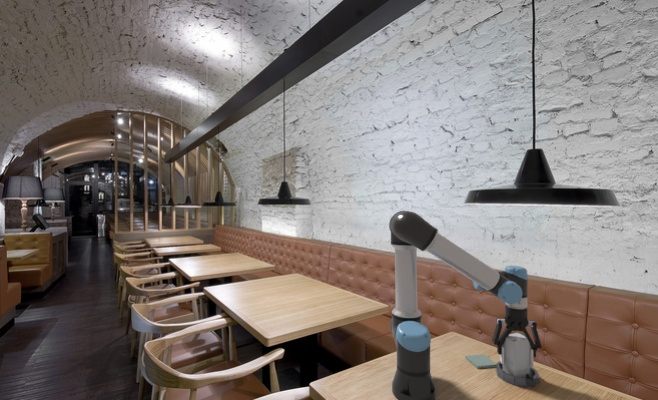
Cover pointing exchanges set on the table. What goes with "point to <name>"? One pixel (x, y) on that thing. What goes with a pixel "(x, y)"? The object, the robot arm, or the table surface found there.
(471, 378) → the table surface
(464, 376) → the table surface
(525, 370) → the skincare box
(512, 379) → the locking ring
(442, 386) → the table surface
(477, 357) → the plate
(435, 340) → the table surface
